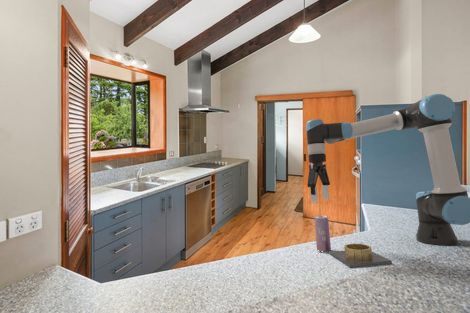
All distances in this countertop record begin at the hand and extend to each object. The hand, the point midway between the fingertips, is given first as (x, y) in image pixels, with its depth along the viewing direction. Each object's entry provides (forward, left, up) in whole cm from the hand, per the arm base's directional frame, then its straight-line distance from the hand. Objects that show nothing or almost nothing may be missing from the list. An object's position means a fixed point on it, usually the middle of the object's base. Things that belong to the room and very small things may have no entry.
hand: (320, 200), depth 115 cm
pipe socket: (-8, +13, -22) cm, 27 cm away
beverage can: (0, -1, -22) cm, 22 cm away
